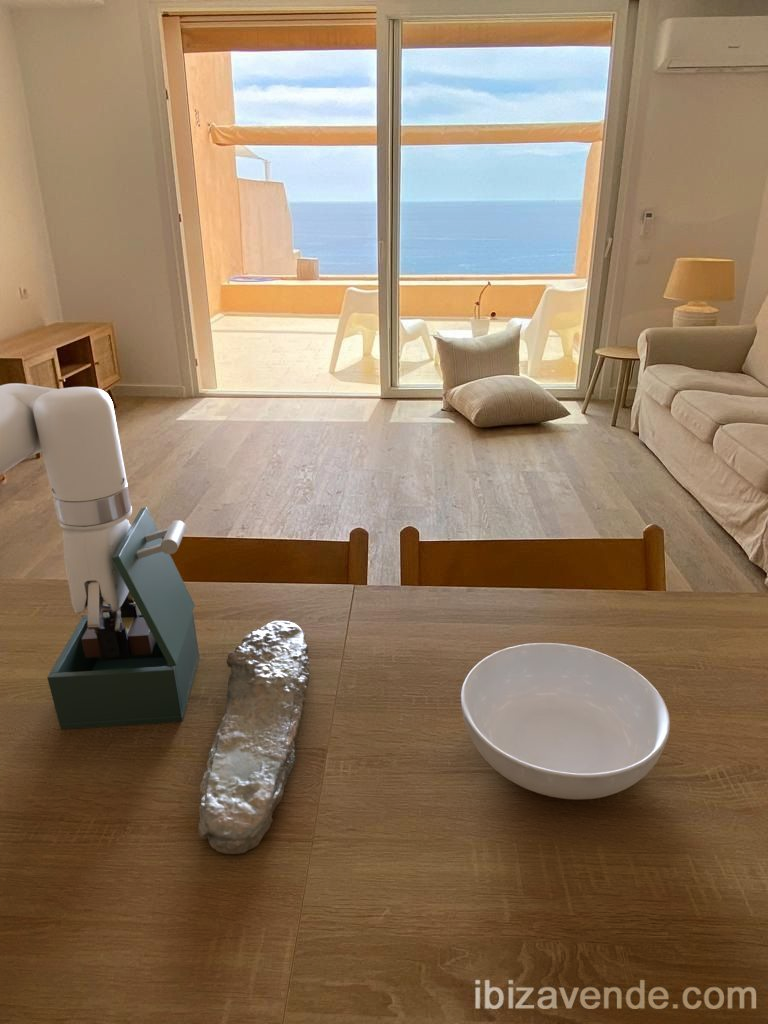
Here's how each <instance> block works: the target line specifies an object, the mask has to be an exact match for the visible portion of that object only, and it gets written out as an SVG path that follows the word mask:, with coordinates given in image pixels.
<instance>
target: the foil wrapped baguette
mask: <svg viewBox="0 0 768 1024" xmlns="http://www.w3.org/2000/svg"><path fill="white" fill-rule="evenodd" d="M308 653H309V646H308V645H307V643H306V633H305V632H304V631H303V630H302V628H301V627H300V626H299V625H298V624H296V623H294V622H292V621H288V620H287V621H286V620H274V621H271V622H268V623H267V624H265V625H263V626H262V627H259V629H252V631H251V632H250V633H248V634H247V635H245V636H243V639H242V640H241V645H237V646H236V647H235V649H234V650H231V651H229V652H228V654H227V659H226V664H227V667H229V668H231V669H230V671H231V673H230V674H229V678H228V682H227V687H228V688H227V692H226V706H225V714H224V715H223V717H222V718H221V719H220V725H219V727H218V728H217V730H216V732H215V738H214V739H213V742H212V746H211V748H210V750H209V752H208V757H207V759H208V760H207V761H206V771H205V772H204V773H203V775H202V776H203V777H202V779H201V783H200V785H199V793H200V795H201V796H200V802H199V803H200V804H199V805H198V809H199V811H198V816H199V823H198V828H197V829H198V830H197V831H198V832H197V833H198V837H199V838H200V839H207V840H208V844H209V846H210V847H211V848H212V849H213V850H215V851H217V852H219V853H222V854H225V855H240V854H245V853H246V852H247V851H250V850H252V849H254V848H255V847H257V846H259V845H260V844H261V841H262V839H263V838H264V837H265V835H266V833H267V832H268V831H269V829H270V828H271V825H272V823H273V821H274V820H273V812H274V811H275V809H276V808H277V806H278V805H279V804H280V803H281V801H282V799H283V796H284V793H285V786H286V785H287V783H288V776H289V775H290V773H291V771H292V769H293V767H294V766H295V763H296V751H295V749H296V745H295V741H296V740H297V739H296V738H297V734H298V733H299V731H300V727H301V721H302V713H303V709H304V704H303V702H305V701H306V698H305V697H304V696H305V694H306V691H307V687H308V686H309V682H310V673H309V670H310V665H311V664H310V662H309V661H310V659H309V657H308Z"/></svg>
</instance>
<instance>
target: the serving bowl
mask: <svg viewBox="0 0 768 1024" xmlns="http://www.w3.org/2000/svg"><path fill="white" fill-rule="evenodd" d="M460 704H461V711H462V717H463V721H464V725H465V728H466V731H467V733H468V736H469V738H470V740H471V742H472V743H473V745H474V747H475V749H476V750H477V751H478V753H479V755H481V757H482V758H483V759H484V760H485V761H486V762H487V763H488V764H489V765H490V766H491V767H492V768H493V769H494V770H495V771H496V772H498V773H499V774H500V775H502V776H503V777H504V778H505V779H507V780H509V781H510V782H512V783H514V784H515V785H518V786H519V787H521V788H523V789H526V790H528V791H531V792H533V793H536V794H539V795H543V796H547V797H551V798H556V799H557V798H558V799H565V800H592V799H601V798H604V797H608V796H611V795H614V794H617V793H620V792H622V791H624V790H627V789H628V788H630V787H632V786H633V785H635V784H637V783H638V782H639V781H641V780H642V779H643V778H644V777H646V775H648V773H649V772H650V771H651V770H652V769H653V768H654V767H655V765H656V764H657V762H658V761H659V759H660V757H661V756H662V753H663V751H664V750H665V747H666V744H667V742H668V740H669V736H670V732H671V719H670V713H669V710H668V707H667V704H666V702H665V700H664V699H663V697H662V696H661V694H660V693H659V691H658V690H657V689H656V687H655V686H654V685H653V684H652V683H651V682H650V681H649V680H648V679H647V678H645V676H643V675H642V674H641V673H639V671H637V670H636V669H634V668H632V667H631V666H630V665H627V664H626V663H624V662H623V661H620V660H618V659H617V658H614V657H612V656H610V655H607V654H605V653H603V652H599V651H597V650H594V649H591V648H587V647H583V646H578V645H573V644H565V643H554V642H553V643H552V642H538V643H537V642H536V643H535V642H534V643H525V644H519V645H514V646H510V647H506V648H504V649H501V650H498V651H496V652H493V653H492V654H489V655H488V656H486V657H484V658H483V659H481V660H480V661H479V662H478V663H477V664H475V665H474V667H472V669H471V670H470V671H469V673H468V674H467V676H466V677H465V679H464V682H463V684H462V688H461V693H460Z"/></svg>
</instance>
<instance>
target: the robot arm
mask: <svg viewBox="0 0 768 1024" xmlns="http://www.w3.org/2000/svg"><path fill="white" fill-rule="evenodd" d="M39 453H42V457H43V462H44V466H45V471H46V475H47V479H48V484H49V488H50V492H51V497H52V501H53V505H54V508H55V509H54V510H55V513H56V517H57V522H58V525H59V526H60V528H62V529H63V530H62V544H63V545H62V546H63V556H64V564H65V570H66V577H67V584H68V589H69V595H70V599H71V605H72V609H73V611H74V613H76V614H83V613H84V612H85V611H86V609H87V615H88V624H87V625H88V629H91V630H94V632H95V634H96V635H97V639H98V644H99V648H100V653H101V657H102V659H103V660H115V659H128V658H130V656H131V650H130V645H129V640H128V635H127V630H126V627H122V619H121V618H131V617H135V618H139V616H138V612H139V611H138V610H139V609H138V607H137V605H136V603H135V601H134V599H133V597H132V595H131V594H130V592H129V590H128V588H127V586H126V584H125V582H124V580H123V579H122V577H121V575H120V573H119V571H118V569H117V567H116V565H115V564H114V562H113V560H112V557H113V556H114V554H115V552H116V550H117V549H118V547H119V545H120V544H121V542H122V540H123V538H124V537H125V535H126V533H127V532H128V530H129V528H130V526H131V524H130V521H129V518H130V517H131V516H132V514H133V507H132V502H131V497H130V491H129V487H128V479H127V475H126V469H125V463H124V457H123V453H122V446H121V441H120V435H119V430H118V425H117V420H116V414H115V408H114V403H113V401H112V399H111V397H110V395H109V393H107V392H106V391H104V390H103V389H101V388H97V387H93V386H72V387H71V386H70V387H63V388H53V387H45V386H40V385H33V384H27V383H17V382H15V383H13V382H12V383H5V384H1V385H0V476H2V475H3V474H5V473H6V472H7V471H9V470H10V469H12V468H14V467H15V466H16V465H18V464H19V463H20V462H22V461H24V460H25V459H28V458H30V457H32V456H34V455H36V454H39ZM104 602H105V603H104ZM104 613H108V614H109V616H110V618H104V616H103V614H104ZM112 619H113V620H112Z"/></svg>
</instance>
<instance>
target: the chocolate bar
mask: <svg viewBox="0 0 768 1024" xmlns="http://www.w3.org/2000/svg"><path fill="white" fill-rule="evenodd" d="M121 619H122V627H126V630H127V635H128V640H129V645H130V650H131V655H142V654H152V651H153V648H154V645H155V643H156V640H155V638H154V637H153V635H152V633H151V631H150V629H149V627H148V625H147V623H146V622H145V620H144V618H143V617H140V618H135V617H131V618H121ZM112 620H113V619H112ZM81 641H82V645H83V649H84V654H85V658H93V657H101V653H100V648H99V644H98V639H97V635H96V634H95V632H94V630H91V629H88V628H87V630H86V632H85V633H84V635H83V637H82V639H81Z"/></svg>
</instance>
